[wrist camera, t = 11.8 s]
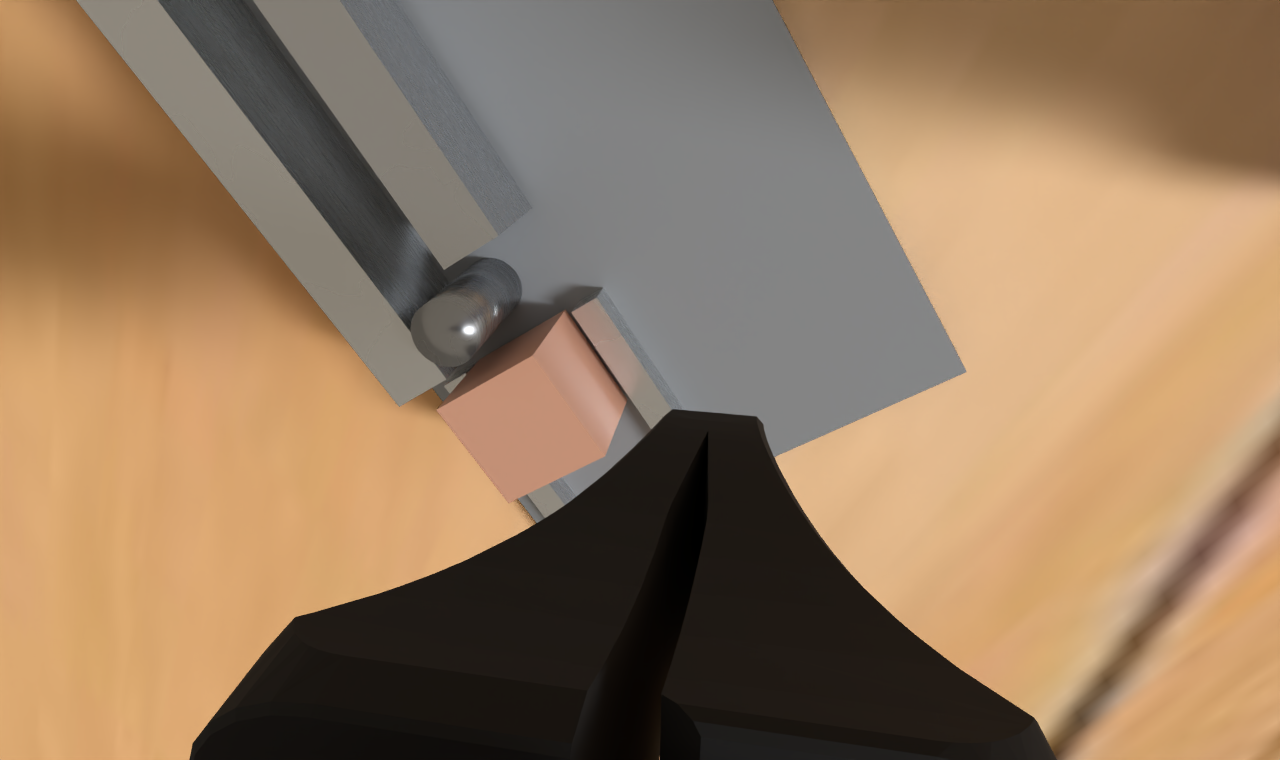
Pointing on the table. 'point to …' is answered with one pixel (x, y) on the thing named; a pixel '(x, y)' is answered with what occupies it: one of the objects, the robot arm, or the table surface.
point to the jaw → (403, 118)
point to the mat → (686, 207)
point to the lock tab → (536, 408)
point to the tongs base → (338, 208)
